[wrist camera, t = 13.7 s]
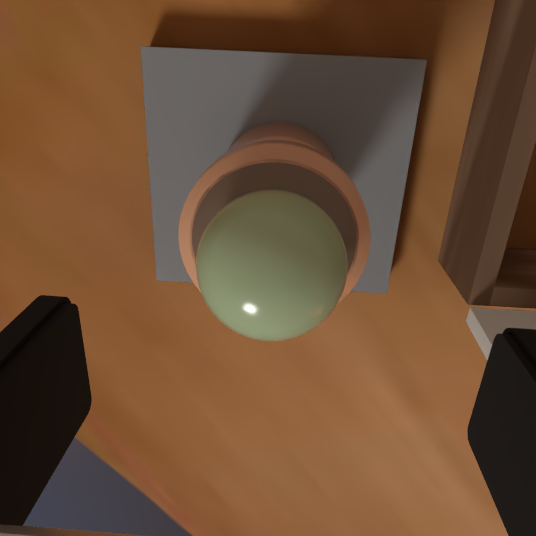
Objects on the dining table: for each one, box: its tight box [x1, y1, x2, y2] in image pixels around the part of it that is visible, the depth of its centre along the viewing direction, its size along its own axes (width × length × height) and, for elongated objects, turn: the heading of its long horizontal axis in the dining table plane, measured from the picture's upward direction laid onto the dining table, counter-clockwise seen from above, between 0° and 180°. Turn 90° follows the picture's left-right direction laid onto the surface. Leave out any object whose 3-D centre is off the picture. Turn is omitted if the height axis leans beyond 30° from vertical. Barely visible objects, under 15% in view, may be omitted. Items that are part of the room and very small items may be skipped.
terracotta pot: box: [178, 122, 371, 341], centre depth 18 cm, size 7×7×12 cm
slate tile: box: [141, 46, 427, 293], centre depth 24 cm, size 13×12×2 cm
